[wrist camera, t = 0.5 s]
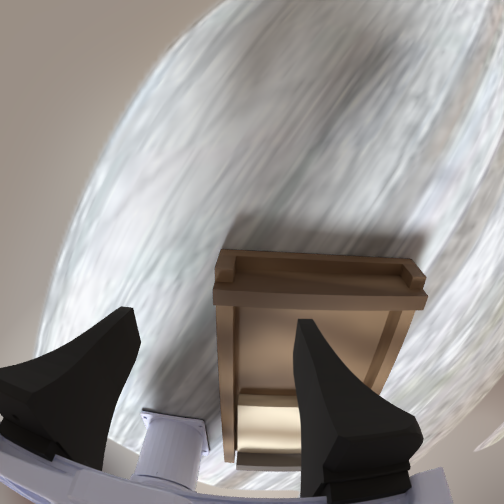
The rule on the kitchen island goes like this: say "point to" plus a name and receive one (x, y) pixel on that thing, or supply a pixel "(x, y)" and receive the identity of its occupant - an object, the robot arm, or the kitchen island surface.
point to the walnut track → (306, 307)
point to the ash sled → (268, 433)
